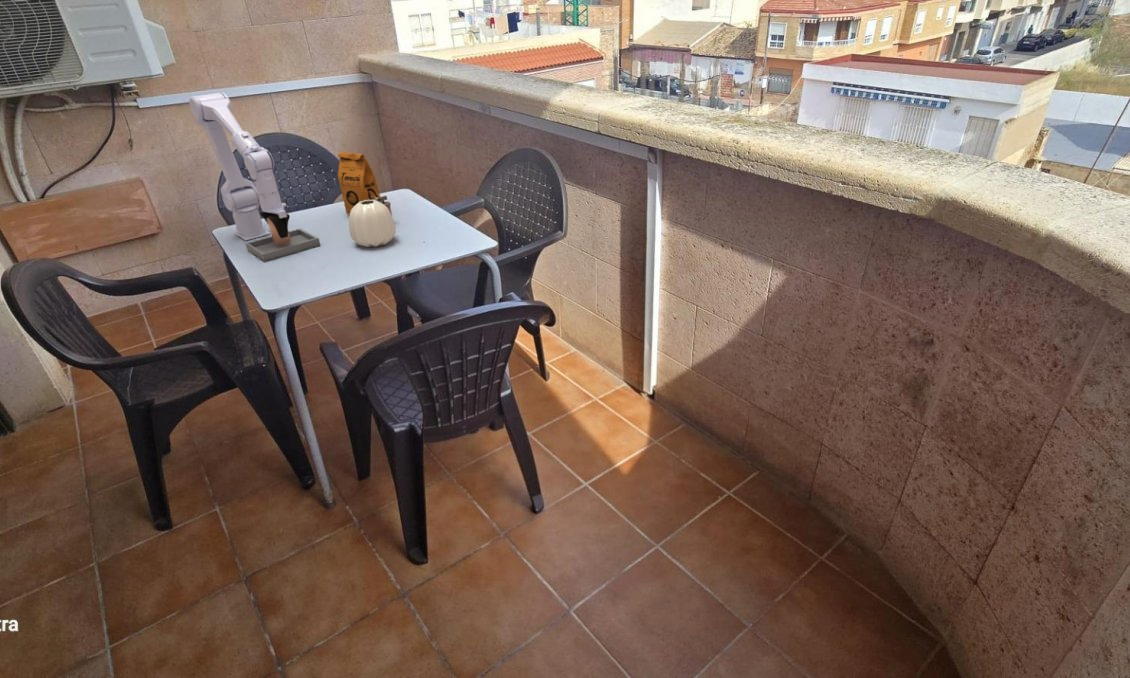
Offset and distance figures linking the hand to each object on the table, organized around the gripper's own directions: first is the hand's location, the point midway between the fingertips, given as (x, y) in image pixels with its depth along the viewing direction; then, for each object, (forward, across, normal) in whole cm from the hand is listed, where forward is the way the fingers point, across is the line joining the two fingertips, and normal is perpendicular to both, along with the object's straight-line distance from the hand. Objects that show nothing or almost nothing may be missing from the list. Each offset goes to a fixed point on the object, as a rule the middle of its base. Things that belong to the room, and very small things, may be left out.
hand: (280, 235), depth 181 cm
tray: (+4, 0, 0) cm, 4 cm away
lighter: (+5, -6, -32) cm, 33 cm away
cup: (+2, 0, 0) cm, 2 cm away
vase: (+5, -18, -22) cm, 29 cm away
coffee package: (+5, +10, -34) cm, 36 cm away
